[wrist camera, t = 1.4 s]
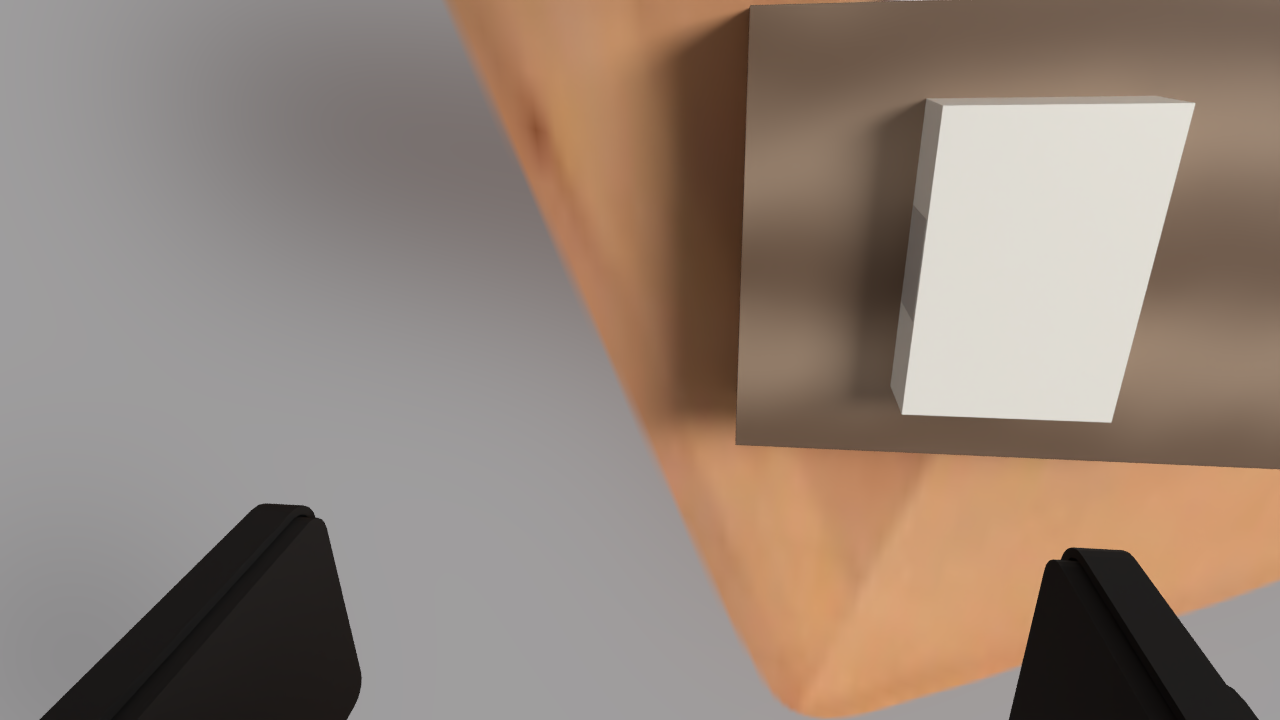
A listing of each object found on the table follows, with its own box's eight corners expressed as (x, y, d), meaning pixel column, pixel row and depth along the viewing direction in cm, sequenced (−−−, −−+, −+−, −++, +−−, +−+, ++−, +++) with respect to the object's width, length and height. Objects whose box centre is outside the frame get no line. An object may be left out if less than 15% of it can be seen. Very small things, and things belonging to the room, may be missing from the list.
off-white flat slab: (925, 98, 21) (942, 105, 19) (1156, 96, 20) (1196, 103, 19) (889, 385, 25) (900, 414, 23) (1084, 392, 24) (1112, 422, 22)
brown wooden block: (749, 7, 24) (750, 5, 21) (1366, -9, 22) (1487, -15, 19) (736, 394, 30) (735, 444, 27) (1226, 411, 28) (1298, 470, 24)
